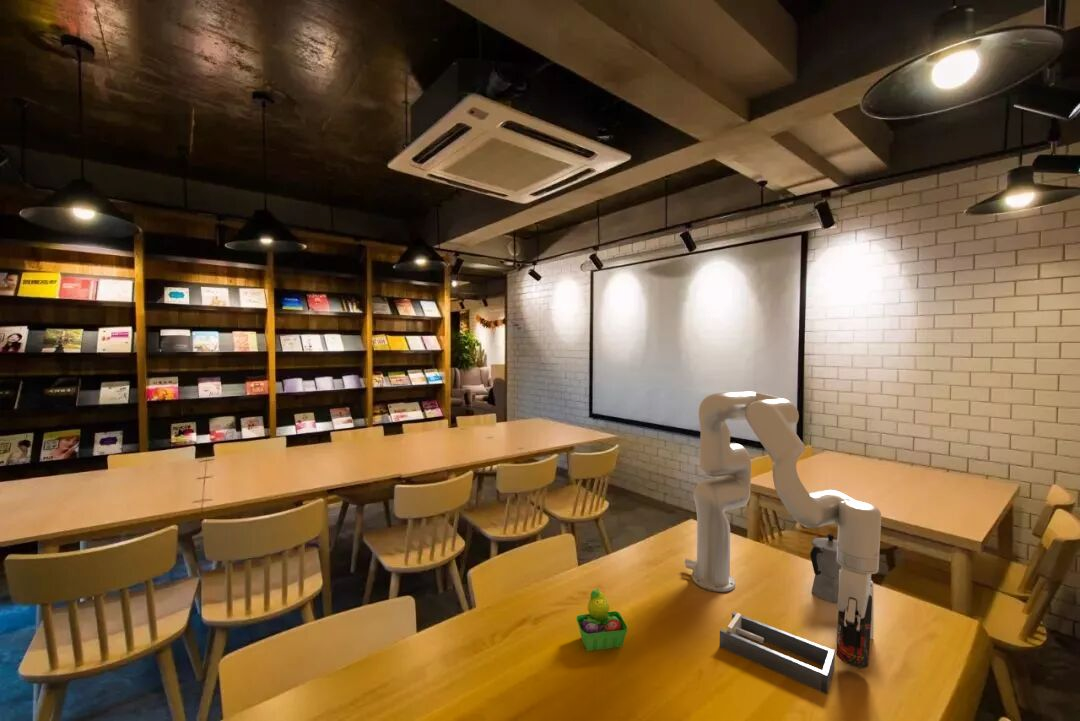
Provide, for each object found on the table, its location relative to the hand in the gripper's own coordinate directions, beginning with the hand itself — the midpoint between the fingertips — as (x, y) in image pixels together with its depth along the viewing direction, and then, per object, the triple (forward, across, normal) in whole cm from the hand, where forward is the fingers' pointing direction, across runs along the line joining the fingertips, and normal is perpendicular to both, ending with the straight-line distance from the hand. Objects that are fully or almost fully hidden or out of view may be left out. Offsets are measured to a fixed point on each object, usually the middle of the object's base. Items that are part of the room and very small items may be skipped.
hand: (853, 636), depth 97 cm
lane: (+8, +6, -14) cm, 18 cm away
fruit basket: (+9, +28, -48) cm, 57 cm away
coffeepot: (+9, -32, -9) cm, 34 cm away
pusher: (+8, +6, -20) cm, 23 cm away
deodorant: (+5, 0, 0) cm, 5 cm away
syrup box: (+9, -18, -1) cm, 20 cm away
